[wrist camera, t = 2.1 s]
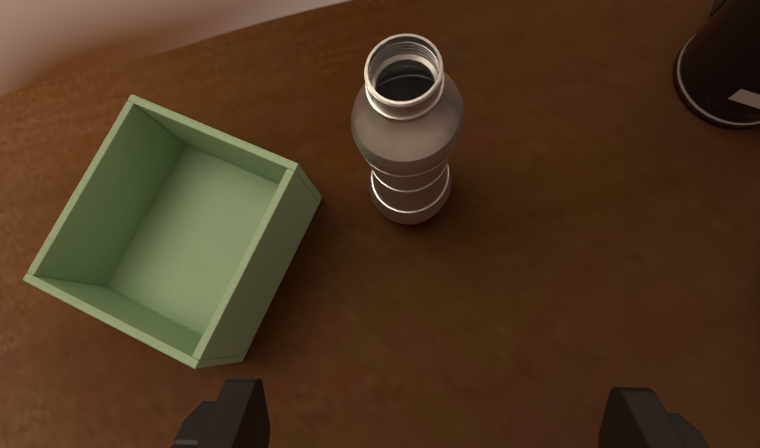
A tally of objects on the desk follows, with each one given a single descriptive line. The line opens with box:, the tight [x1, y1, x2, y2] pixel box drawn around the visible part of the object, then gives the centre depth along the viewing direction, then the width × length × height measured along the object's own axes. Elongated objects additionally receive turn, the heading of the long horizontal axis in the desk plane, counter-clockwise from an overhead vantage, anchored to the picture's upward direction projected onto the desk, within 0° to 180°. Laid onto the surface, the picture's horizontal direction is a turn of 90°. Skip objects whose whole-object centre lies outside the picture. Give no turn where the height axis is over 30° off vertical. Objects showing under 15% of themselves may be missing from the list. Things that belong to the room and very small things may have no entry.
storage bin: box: [23, 94, 322, 369], centre depth 38 cm, size 15×14×9 cm
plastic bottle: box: [351, 34, 465, 225], centre depth 32 cm, size 6×7×20 cm
